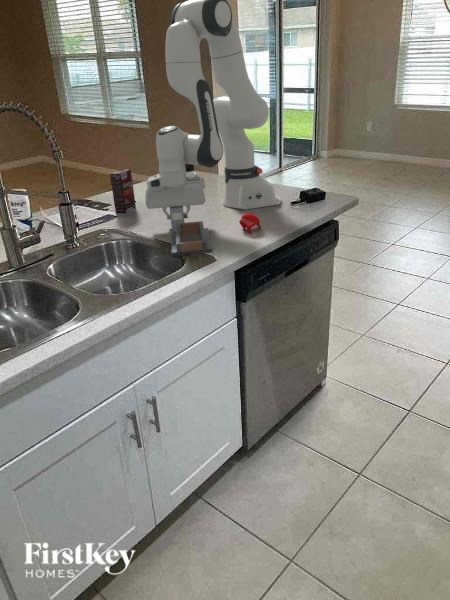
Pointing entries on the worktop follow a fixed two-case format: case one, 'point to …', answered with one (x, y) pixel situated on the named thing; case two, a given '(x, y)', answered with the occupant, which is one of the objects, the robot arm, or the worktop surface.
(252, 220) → the red toy chair
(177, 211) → the block
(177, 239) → the grey tray
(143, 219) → the worktop surface
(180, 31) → the robot arm
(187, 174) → the medicine bottle
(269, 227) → the worktop surface
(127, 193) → the supplement box
